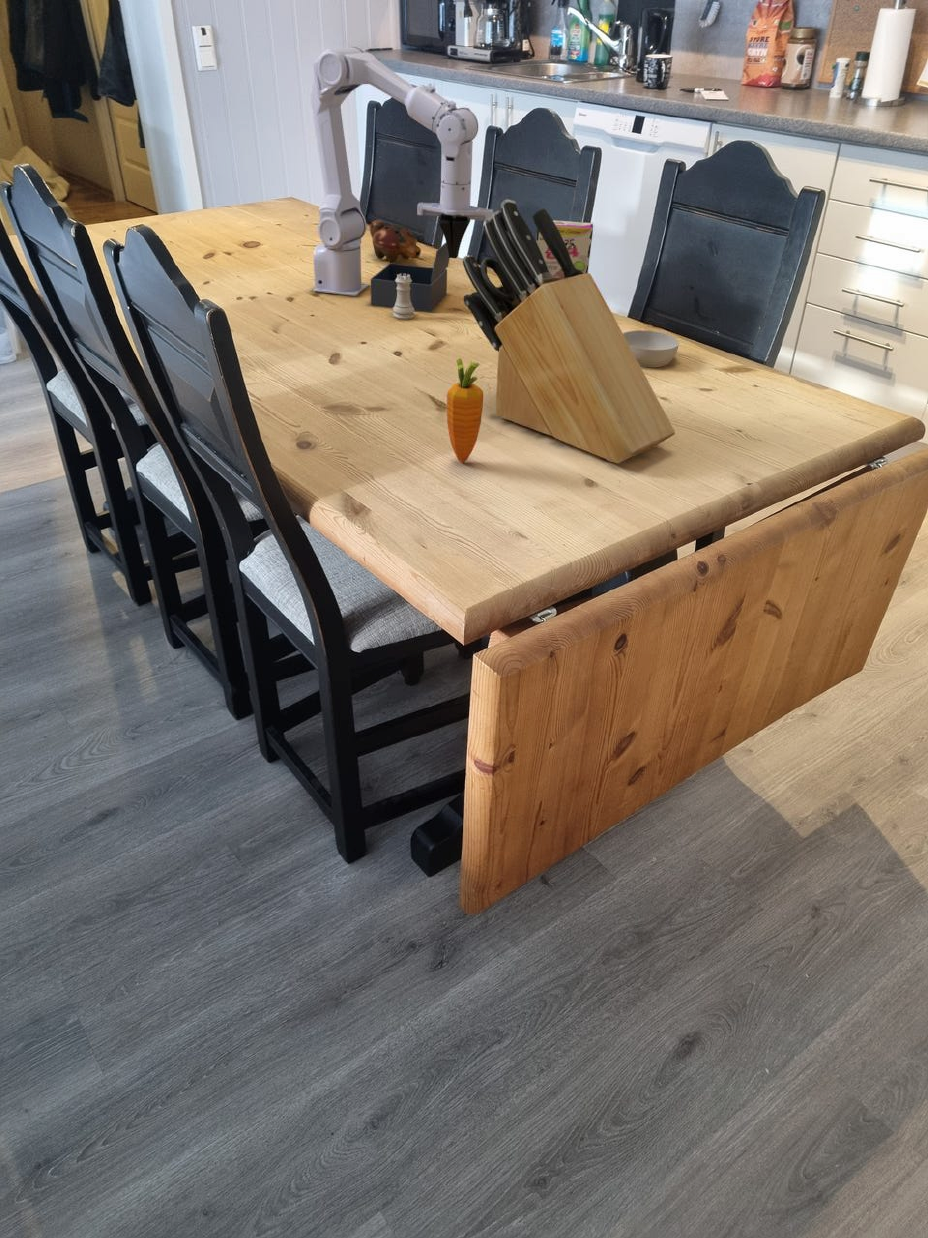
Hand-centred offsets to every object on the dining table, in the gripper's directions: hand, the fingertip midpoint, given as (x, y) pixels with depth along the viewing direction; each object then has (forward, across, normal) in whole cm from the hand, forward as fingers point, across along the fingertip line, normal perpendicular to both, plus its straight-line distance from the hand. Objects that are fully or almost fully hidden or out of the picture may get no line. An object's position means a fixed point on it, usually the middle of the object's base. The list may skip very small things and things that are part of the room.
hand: (453, 256), depth 183 cm
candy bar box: (+11, +20, +10) cm, 25 cm away
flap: (+1, -3, +3) cm, 5 cm away
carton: (+10, -10, +3) cm, 15 cm away
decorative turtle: (+6, -22, +32) cm, 39 cm away
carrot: (+10, +20, -68) cm, 71 cm away
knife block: (+10, +30, -50) cm, 59 cm away
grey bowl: (+10, +37, -14) cm, 41 cm away
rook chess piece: (+11, -8, -8) cm, 15 cm away
